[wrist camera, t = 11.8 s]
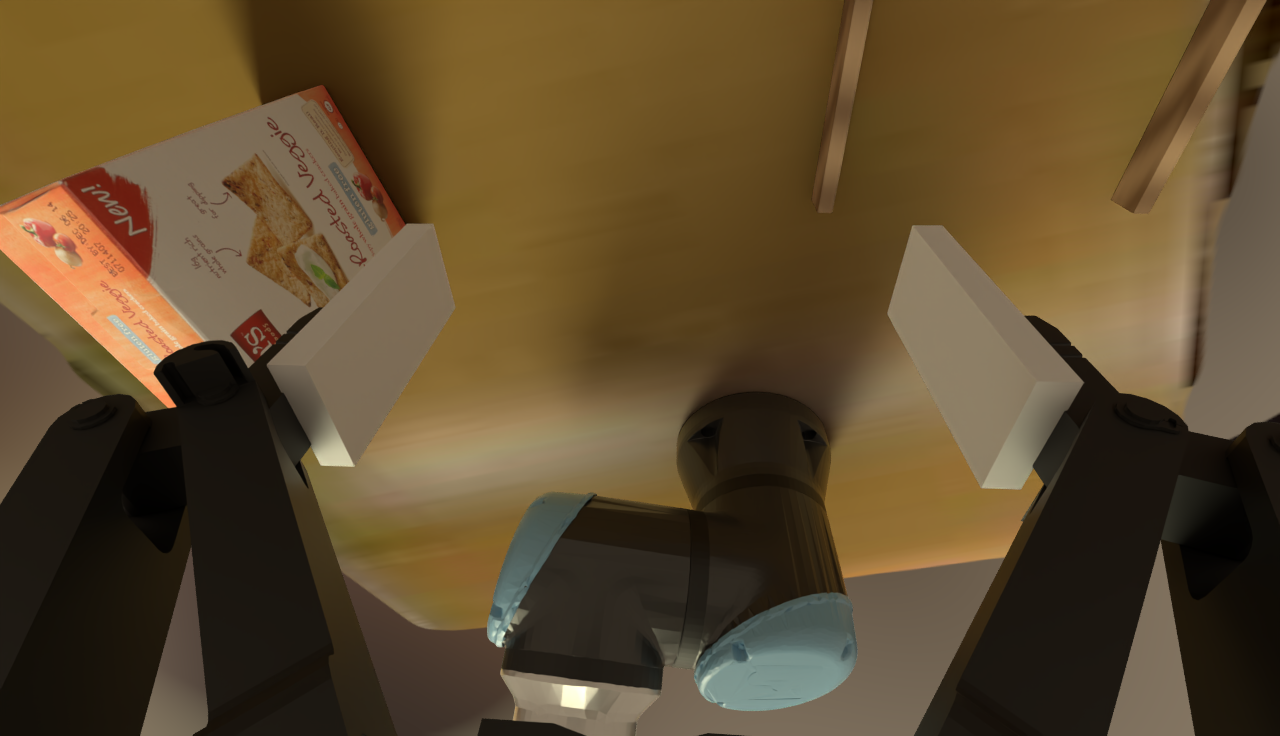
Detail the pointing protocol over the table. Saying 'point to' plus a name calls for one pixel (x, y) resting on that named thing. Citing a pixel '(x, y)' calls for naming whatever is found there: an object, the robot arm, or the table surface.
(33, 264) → the cracker box
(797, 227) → the table surface
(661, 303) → the table surface
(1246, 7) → the bay
